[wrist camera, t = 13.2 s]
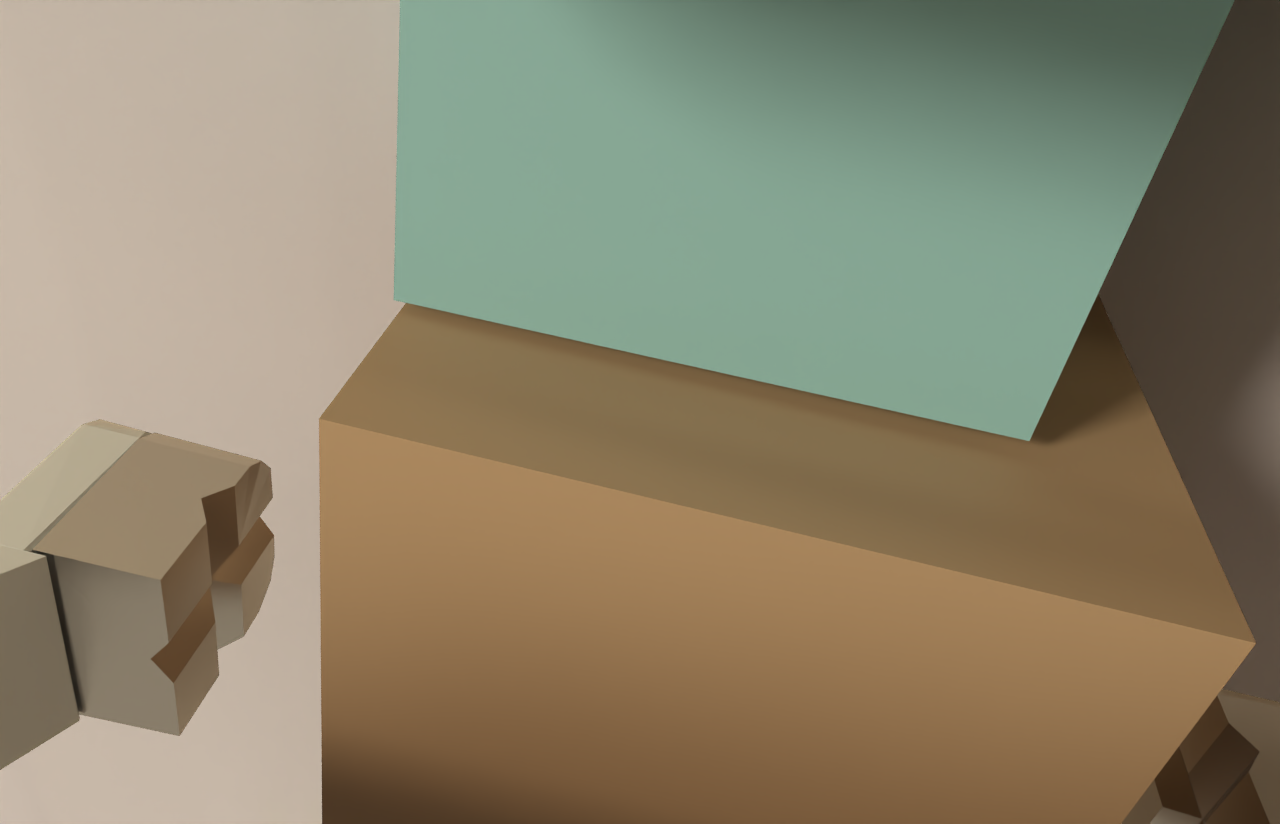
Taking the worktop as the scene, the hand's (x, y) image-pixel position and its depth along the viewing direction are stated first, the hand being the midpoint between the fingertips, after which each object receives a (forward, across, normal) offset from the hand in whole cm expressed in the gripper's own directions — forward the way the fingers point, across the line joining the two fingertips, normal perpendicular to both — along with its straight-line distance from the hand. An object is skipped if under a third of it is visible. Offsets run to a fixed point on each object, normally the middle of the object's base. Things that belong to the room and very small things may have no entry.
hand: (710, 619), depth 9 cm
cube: (+3, 0, -1) cm, 3 cm away
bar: (+3, +1, -12) cm, 13 cm away
